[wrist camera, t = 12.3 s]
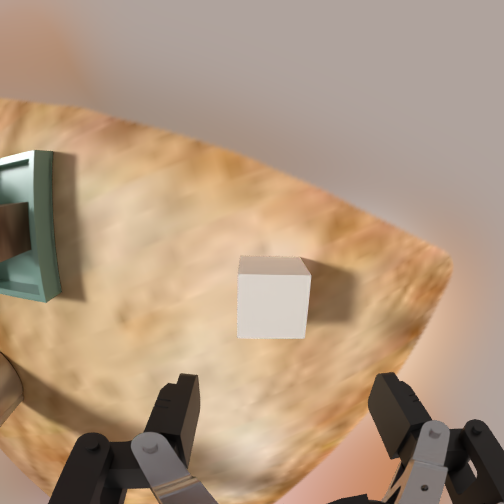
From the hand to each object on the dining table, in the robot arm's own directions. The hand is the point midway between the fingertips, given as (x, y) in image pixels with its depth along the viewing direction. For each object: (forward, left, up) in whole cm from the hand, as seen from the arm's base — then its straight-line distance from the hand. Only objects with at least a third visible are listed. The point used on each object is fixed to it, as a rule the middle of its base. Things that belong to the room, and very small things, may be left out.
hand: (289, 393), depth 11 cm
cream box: (0, 0, -14) cm, 14 cm away
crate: (+5, +27, -14) cm, 31 cm away
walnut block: (+5, +27, -13) cm, 31 cm away
